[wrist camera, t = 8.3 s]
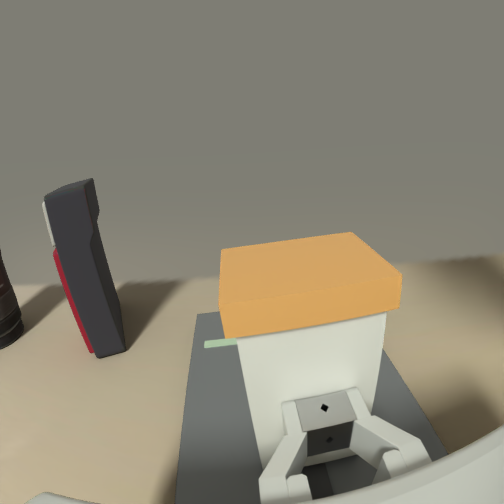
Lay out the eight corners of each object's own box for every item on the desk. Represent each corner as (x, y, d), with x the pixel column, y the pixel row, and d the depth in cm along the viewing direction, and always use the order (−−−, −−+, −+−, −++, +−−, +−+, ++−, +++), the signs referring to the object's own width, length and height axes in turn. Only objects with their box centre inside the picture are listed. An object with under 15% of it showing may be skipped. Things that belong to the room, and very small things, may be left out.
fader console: (344, 303, 30) (344, 291, 29) (473, 526, 7) (484, 518, 7) (199, 324, 29) (197, 313, 29) (178, 593, 7) (169, 590, 6)
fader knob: (344, 397, 17) (351, 231, 13) (368, 455, 12) (402, 274, 9) (251, 413, 17) (221, 249, 13) (257, 478, 12) (218, 304, 9)
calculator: (92, 310, 34) (57, 187, 29) (124, 301, 35) (93, 177, 30) (90, 362, 24) (34, 199, 19) (133, 351, 26) (84, 184, 21)
